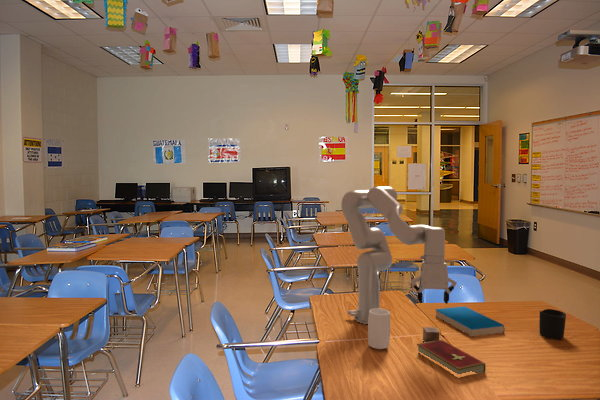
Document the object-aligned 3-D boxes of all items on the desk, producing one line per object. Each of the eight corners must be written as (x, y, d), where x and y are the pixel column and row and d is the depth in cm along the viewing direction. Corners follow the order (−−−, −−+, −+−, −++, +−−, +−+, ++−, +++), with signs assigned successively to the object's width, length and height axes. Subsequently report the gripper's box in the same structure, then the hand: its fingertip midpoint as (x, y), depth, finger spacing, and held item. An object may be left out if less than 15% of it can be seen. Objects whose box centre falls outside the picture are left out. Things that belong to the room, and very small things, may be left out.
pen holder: (568, 341, 168) (570, 317, 167) (543, 339, 170) (544, 315, 169) (559, 332, 177) (560, 309, 176) (535, 330, 179) (536, 307, 178)
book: (472, 328, 171) (434, 308, 194) (471, 339, 171) (434, 317, 195) (505, 324, 176) (465, 305, 200) (504, 334, 176) (464, 314, 200)
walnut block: (425, 347, 161) (426, 331, 160) (422, 341, 166) (423, 327, 165) (438, 347, 160) (439, 332, 160) (435, 342, 165) (436, 327, 165)
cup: (373, 353, 154) (374, 316, 153) (363, 344, 162) (364, 308, 161) (393, 351, 156) (394, 314, 155) (383, 342, 165) (384, 307, 164)
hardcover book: (441, 349, 160) (442, 338, 159) (485, 374, 140) (485, 362, 140) (416, 354, 155) (417, 343, 155) (457, 380, 136) (458, 368, 136)
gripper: (413, 260, 157) (412, 304, 158) (460, 261, 156) (458, 306, 157) (409, 256, 165) (408, 299, 166) (454, 257, 164) (452, 300, 165)
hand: (433, 302), depth 162 cm, fingers open, 9 cm apart
